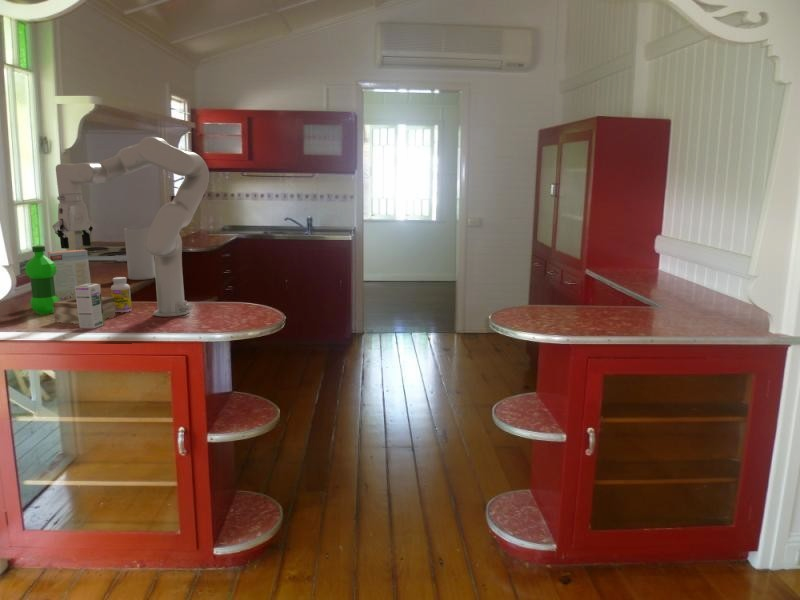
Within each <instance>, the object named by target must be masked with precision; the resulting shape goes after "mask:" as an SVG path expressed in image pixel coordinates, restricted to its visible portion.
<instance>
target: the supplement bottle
mask: <svg viewBox="0 0 800 600" xmlns="http://www.w3.org/2000/svg"><path fill="white" fill-rule="evenodd" d="M112 282H113V284H112V285H111V286H110V293H111V294H110V295H111V296H110V297H113V298H114V306H115V312H126V313H130V312H132V297H131V286H130V285H129V283H127V277H125V276H117V277H113V278H112ZM129 311H130V312H129Z"/></svg>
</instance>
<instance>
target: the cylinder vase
mask: <svg viewBox="0 0 800 600" xmlns="http://www.w3.org/2000/svg"><path fill="white" fill-rule="evenodd" d="M150 227H151V226H136V227H135V226H133V227H125V228H124V229H123V231H124V232H123V233H124V242H125V254H126V262H127V263H126V265H127V266H126V267H127V275H128V279H129V280H130V281H143V280H144V281H146V280H152V279H155V265H154V260H155V256H153V255H151V254H149V253H148V252H147V250H146V248H145V244H144V242H145V237H146V235H147V233H148V231H149V229H150Z"/></svg>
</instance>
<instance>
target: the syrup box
mask: <svg viewBox="0 0 800 600" xmlns="http://www.w3.org/2000/svg"><path fill="white" fill-rule="evenodd" d="M75 293H76V301H77V310H78V318H79V324H78V325H79V329H94V330H95V329H97V328H99V327H102V326H105V320H104V316H103V307H102V298H101V297H102V290H101V284H100V283H94V282H93V283H92V282H91V284H84V285H80V286H76V287H75Z"/></svg>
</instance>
